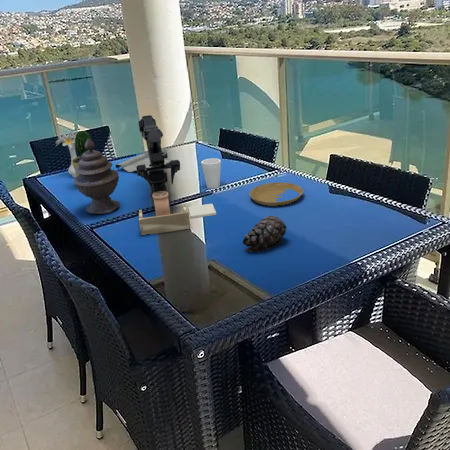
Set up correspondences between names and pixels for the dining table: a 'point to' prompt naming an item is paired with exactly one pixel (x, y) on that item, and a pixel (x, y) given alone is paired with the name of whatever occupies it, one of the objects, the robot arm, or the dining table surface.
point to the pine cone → (265, 234)
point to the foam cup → (211, 172)
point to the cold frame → (164, 222)
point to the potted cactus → (80, 146)
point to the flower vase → (70, 142)
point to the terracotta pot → (161, 203)
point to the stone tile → (201, 210)
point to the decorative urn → (96, 180)
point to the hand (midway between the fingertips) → (161, 185)
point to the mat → (136, 163)
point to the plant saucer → (273, 193)
